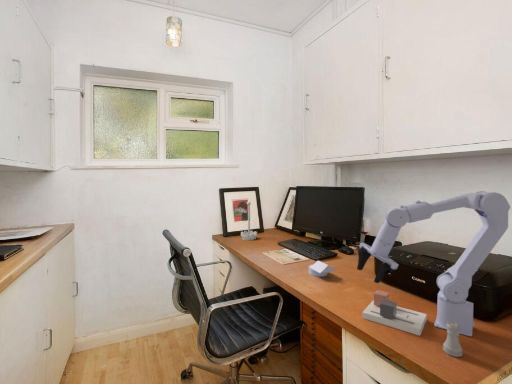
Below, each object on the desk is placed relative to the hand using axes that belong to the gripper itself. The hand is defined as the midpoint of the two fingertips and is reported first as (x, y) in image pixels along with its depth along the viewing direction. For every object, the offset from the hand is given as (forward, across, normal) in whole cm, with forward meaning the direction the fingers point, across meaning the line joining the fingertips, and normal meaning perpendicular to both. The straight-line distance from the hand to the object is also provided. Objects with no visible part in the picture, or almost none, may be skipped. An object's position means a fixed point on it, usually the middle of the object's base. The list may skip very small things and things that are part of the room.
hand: (367, 275), depth 96 cm
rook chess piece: (+4, +29, +3) cm, 30 cm away
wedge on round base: (+20, -32, +17) cm, 42 cm away
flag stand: (+46, -121, +30) cm, 133 cm away
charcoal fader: (+7, +11, +3) cm, 13 cm away
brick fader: (+8, +5, +8) cm, 12 cm away
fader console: (+9, +11, +7) cm, 16 cm away
